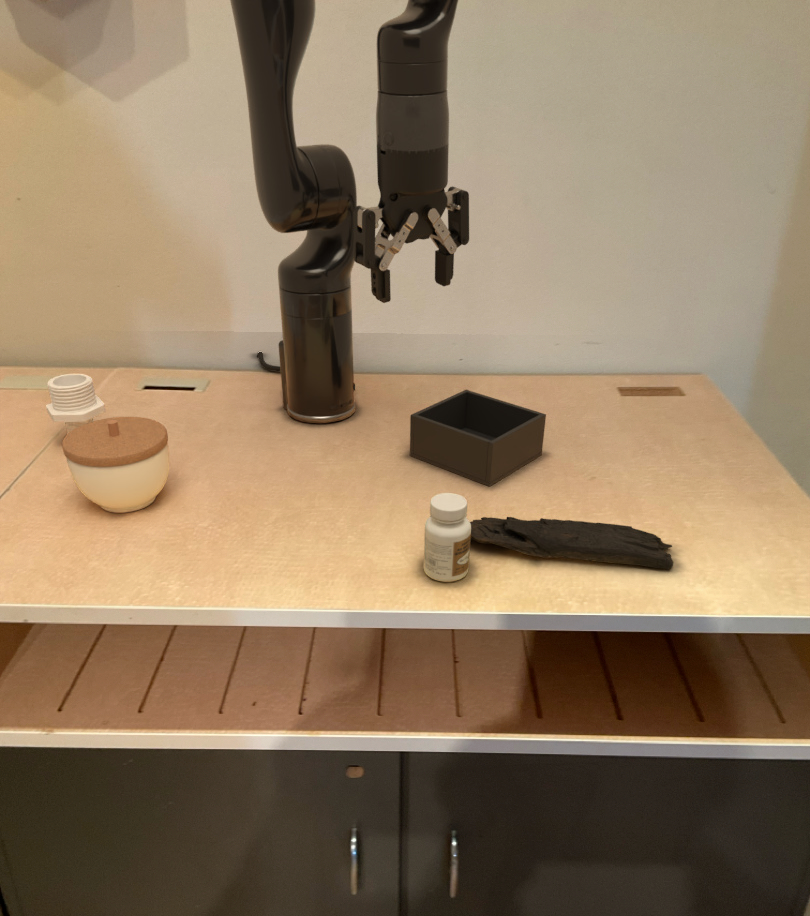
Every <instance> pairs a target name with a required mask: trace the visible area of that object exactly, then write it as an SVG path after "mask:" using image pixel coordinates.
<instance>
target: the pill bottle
mask: <svg viewBox="0 0 810 916" xmlns="http://www.w3.org/2000/svg"><path fill="white" fill-rule="evenodd" d="M429 515H430V516H429V517H427V518H426V520H425V523H424V533H423V535H424V537H423V538H424V540H423V542H424V543H423V571H424V574H426V576H428V577H429V578H430V579H432V580H434V581H438V582H444V583H450V582H457V581H459V580H462V579H463V578H465V577H466V575H468V572H469V568H470V553H471V551H470V550H471V541H470V538H471V524H470V522H471V521H470V520H469V519H468V518H467V517H468V501H467V499H466V498H465V496H463V495H461V494H458V493H454V492H441V493H438V494H435V495H433V496H432V497H431V499H430V501H429Z"/></svg>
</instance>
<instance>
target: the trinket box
mask: <svg viewBox="0 0 810 916" xmlns="http://www.w3.org/2000/svg"><path fill="white" fill-rule="evenodd" d="M61 447H62V452H63V455H64V456H65V459H66V463H67V467H68V470H69V472H70V475H71V477H72V480H73V481H74V482H75V485H76V487H77V488H78V489H79V491H80V492H81V494H82V495H84V496H85V498H86V499H88V500H89V501H90V502H92V503H94V504H96V505H97V506H99V507H100V508H101V509H102V510H104V511H107V512H111V513H115V514H116V513H117V514H118V513H119V514H121V513H131V512H136V511H139V510H142V509H144V508H147V507H148V506H151V504H153V503H154V502H155V500H156V498H157V496H158V494H160V493H161V491H162V490H163V489H164V487H165V485H166V483H167V480H168V478H169V473H170V449H169V435H168V430H167V428H166V427H165V425H163V424H162V423H161V422H160V421H157V420H155V419H151V418H147V417H141V416H116V417H114V416H113V417H108V418H107V417H106V418H101V419H97V420H93V422H90V423H87V424H84V425H82V426H80V427H77V428H76V429H74V430H72V431H71V432H69V433H68V434H66V435H65V436H64V438H63V439H62V442H61Z"/></svg>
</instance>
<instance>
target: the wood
mask: <svg viewBox="0 0 810 916" xmlns="http://www.w3.org/2000/svg"><path fill="white" fill-rule="evenodd" d="M470 524H471V538H470V542H471V541H472V542H473V541H476V542H477V543H479V544H493V545H496V546H498V547H502V548H506V549H509V550H511V551H516V552H519V553H521V554H524V555H526V556H533V557H537V558H552V559H553V558H554V559H558V558H565V559H577V560H582V561H583V560H584V561H588V562H592V561H593V562H596V563H608V564H622V565H623V564H624V565H630V566H631V565H632V566H641V567H650V568H654V569H664V570H665V569H666V570H670V569H672V568H673V567H674V563H675V562H674V560H673V558H672V554H671V553H669V552H666V551H669V549H671V548H673V545H672V544H669V543H665V542H663V541H662V538H660V537H659V536H657V535H656V534H654V533H651V532H647V531H644V530H642V529H638V528H634V527H632V525H623V524H615V523H606V522H590V521H584V520H583V521H582V520H580V521H579V520H570V519H566V520H563V519H557V518H556V519H555V518H553V519H550V518H543V517H541V518H539V519H538V520H537V519H532V520H531V519H530V520H526V519H521V518H517V517H513V516H506V518H498V517H486V516H483V517H480V519H472V521H470Z"/></svg>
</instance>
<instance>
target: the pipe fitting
mask: <svg viewBox="0 0 810 916" xmlns="http://www.w3.org/2000/svg"><path fill="white" fill-rule="evenodd" d="M46 385H47V389H48V393H49V396H50V400H51V401H50V403H48V404H46V405H45V408H46V413H47V414H48V416H49V417H50V419H51V420H52V422H54V423H64V424H65V427H66V430H67V431H66V433H67V434H68V433H69V432H71V431H72V430H74V429H76V428H77V427H80V426H82V425H84V424H87V423H90V422H93V421H94V419H93V418H95V417H97V416H99V415H102V414H103V413H106V412H107V410H106V405H105V403H104V401H102V399H101V398H100V397H99V396H98V395H96V391H95V390H96V389H95V386H94V381H93V378H92V377H91V376H89V375H87V374H85V373H65V374H60V375H56V376H54V377H52V378H50V379H48V381H47V383H46ZM67 434H66V435H67Z"/></svg>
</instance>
